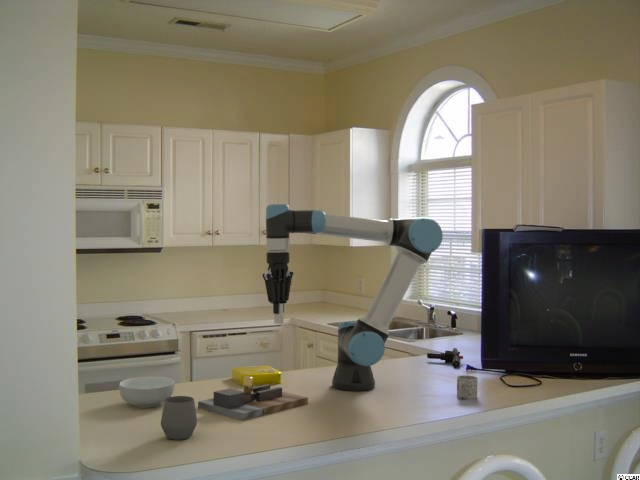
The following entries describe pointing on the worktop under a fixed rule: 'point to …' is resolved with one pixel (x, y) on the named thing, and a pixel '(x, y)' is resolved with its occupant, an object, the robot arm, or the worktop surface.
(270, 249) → the robot arm
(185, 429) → the cup
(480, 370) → the worktop surface
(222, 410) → the door and jamb
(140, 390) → the cereal bowl
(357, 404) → the worktop surface
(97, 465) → the worktop surface
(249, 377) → the bolt
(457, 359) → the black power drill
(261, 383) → the element tile
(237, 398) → the bolt housing
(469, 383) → the mug
